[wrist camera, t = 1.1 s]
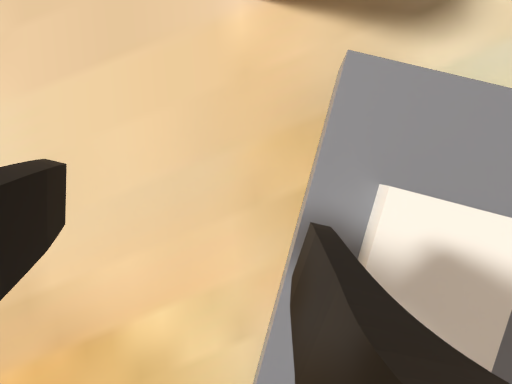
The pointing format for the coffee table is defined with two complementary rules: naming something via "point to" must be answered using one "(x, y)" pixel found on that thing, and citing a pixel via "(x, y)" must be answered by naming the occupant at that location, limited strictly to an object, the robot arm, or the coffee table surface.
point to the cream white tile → (443, 267)
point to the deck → (397, 167)
